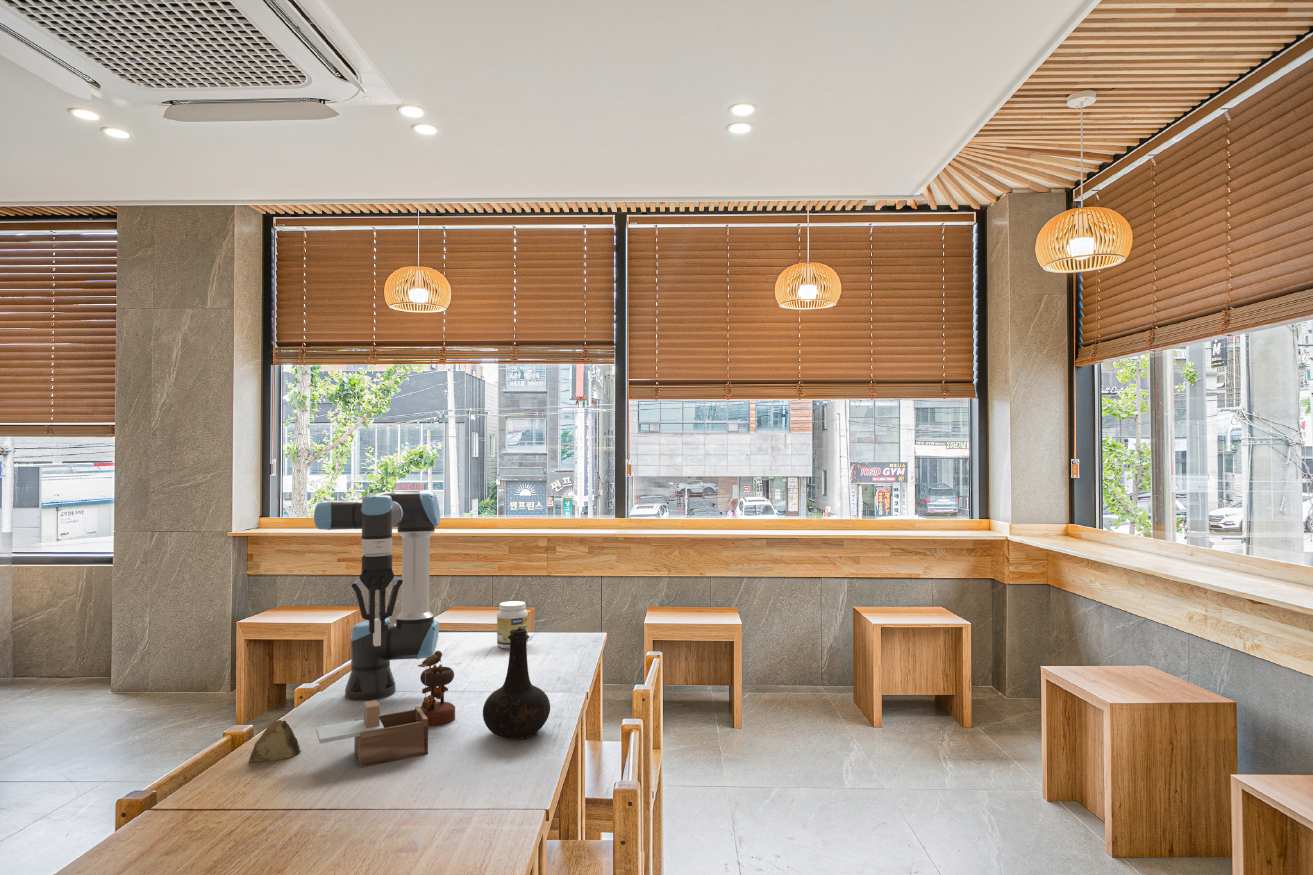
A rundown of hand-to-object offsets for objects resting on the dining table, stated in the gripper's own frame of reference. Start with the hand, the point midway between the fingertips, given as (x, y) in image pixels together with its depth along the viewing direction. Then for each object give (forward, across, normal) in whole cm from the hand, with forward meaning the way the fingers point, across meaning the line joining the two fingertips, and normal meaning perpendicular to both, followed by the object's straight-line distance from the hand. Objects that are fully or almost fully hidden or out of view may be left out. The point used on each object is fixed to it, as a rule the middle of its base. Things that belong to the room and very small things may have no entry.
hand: (376, 644), depth 191 cm
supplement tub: (+27, +64, +83) cm, 108 cm away
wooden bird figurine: (+27, +18, +13) cm, 35 cm away
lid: (+19, -7, -6) cm, 21 cm away
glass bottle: (+27, +34, -10) cm, 45 cm away
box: (+26, +2, -6) cm, 27 cm away
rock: (+27, -24, +7) cm, 36 cm away
